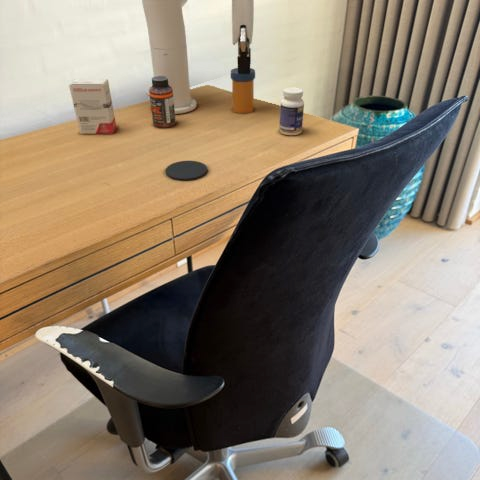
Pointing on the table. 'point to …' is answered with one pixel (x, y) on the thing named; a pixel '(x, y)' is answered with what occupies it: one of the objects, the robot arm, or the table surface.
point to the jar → (243, 96)
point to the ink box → (93, 106)
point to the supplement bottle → (162, 102)
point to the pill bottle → (291, 111)
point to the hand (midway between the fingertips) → (244, 68)
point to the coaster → (186, 170)
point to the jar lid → (242, 75)
